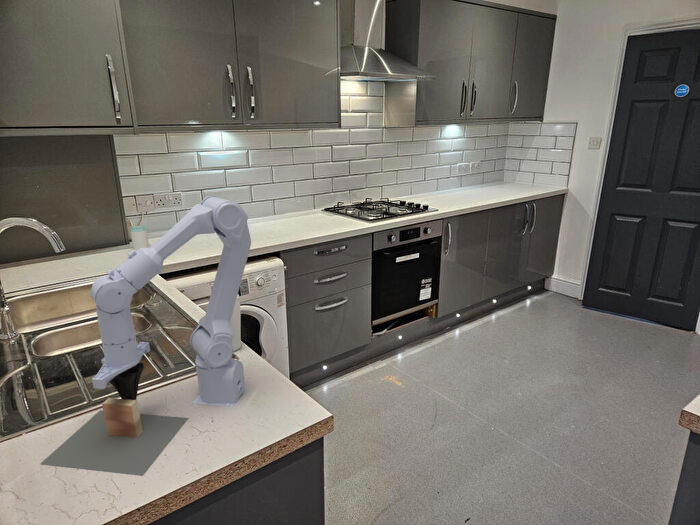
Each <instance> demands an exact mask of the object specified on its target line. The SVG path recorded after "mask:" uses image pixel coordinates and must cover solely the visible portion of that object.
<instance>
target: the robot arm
mask: <svg viewBox="0 0 700 525" xmlns="http://www.w3.org/2000/svg"><path fill="white" fill-rule="evenodd" d="M248 219H249V215H248V214H247V212H245V210H244V209H243V207H242V206H241V205H240V204H239V203H238V202H236V201H234V200H228V199H225V198H222V197H220V196H219V195H218V196H217V195H208V196H206V197H204V198H203V200H201V201H200V203H197V204H195V205H194V206H192V208H191V209H190V210H189V211H188V212H187V213H186V214H185V215H184V216H183V217H182V218H181V219H180V220H178V221H177V222H176V224H174V225H173V226H172V227H171V228H170V229H169V230H168V231H167V232H166V233H165V234H163V235H162V236H161V237H160V239H157V241H156V242H155V243H154V244H153V245H151V246H149V248H139V249H138V250H137V251H134V250H133V249H131V250H130V251H129V252H128V253H127V255H128V257H126V259H125V260H123V261H122V262H121V263H119V265H117V266H116V267H115V268H114V269H112V268H110V269H108V271H106V274H107V275H103V276H100V277H98V278H97V279H96V280H94V282H93V284H92V285H91V286H92V287H91V288H90V292H89V294H90V298H92V300H93V301H94V302H95V304H96V316H97V323H98V330H99V333H100V341H101V346H102V351H103V356H104V357H103V358H102V359H101V364H102V366H101V367H100V369H99V371H98V372H97V374H96V375H95V376H93V377H92V378H91V382H92V387H93V389H96V390H97V389H98V390H104V389H106V388H107V386H108V385H107V384H108V383H110V384H111V385H112V386H113V387H114V389H115V390H116V391H117V393H118V394H119V397H120V399H129V400H137V398H138V390H139V383H140V379H141V376H142V373H143V371H144V368H145V366H144V363H142V362H140V361H141V360H142V358H143V355H144V354H147V353H149V352H150V351H151V348H150V342H148V341H145V342H144V341H140V342H138V343H137V338H136V332H135V325H134V320H133V314H132V312H131V307H130V305H131V303H132V301H133V295H134V294H136V293H137V292H138V291H140V290H141V289H142V288H143V287H145V286H146V284H148V283H149V282H150V281H152V279H154V278H155V277H156V276H157V275H158V274H159V273H161V272H162V271H163V267H164V266H163V265H164V260H166V259H168V258H169V257H170V256H171V255H172V254H174V253H175V252H176V251H177V250H178V249H180V248H181V247H183V246H184V245H185V244H187V243H188V242H189V241H190V240H192V239H194V237H196V236H197V235H208V234H209V235H210V234H216V235H217V236H218V238H219V240H220V241H221V243H222V244H223V247H222V252H221V254H220V259H219V263H218V266H217V268H216V269H217V271H216V274H215V277H214V281H213V285H212V289H211V292H210V296H209V301H208V304H207V308H206V312H205V315H204V316H202V317H201V318H199V320H198V323H197V327H196V328H195V329H194V330H193V332H191V335H190V337H189V344H190V347H191V348H192V349H193V350H194V351H195V352H196V357H195V361H194V362H195V370H196V376H197V384H198V394H197V396H196V397H195V399H194V400H193V401H192V402H191V403H192V404H196V405H198V404H199V405H207V406H208V405H209V406H222V407H234V406H235V405H236V403H237V402H238V400H239V399H240V398H241V396H242V395H243V393H244V392H245V390H246V389H247V385H246V382H245V372H244V365H243V364H244V363H243V362H242V361H240V360H237V359H234V358H232V357H233V353H234V352H233V346H232V338H233V331H232V327H231V322H230V321H231V317H232V313H233V310H234V306H235V302H236V299H237V295H239V291H240V287H241V284H242V279H243V276H244V272H245V267H246V264H247V261H248V257H249V253H250V249H251V245H252V238H251V234H250V230H249V226H248Z"/></svg>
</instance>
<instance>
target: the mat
mask: <svg viewBox="0 0 700 525" xmlns="http://www.w3.org/2000/svg"><path fill="white" fill-rule="evenodd" d="M140 419H141V425H142V430H143V431H142V432H141V433H140V435H139V436H138V437H137V438H133V437H123V436H112V435H108V432H107V427H106V422H105V417H104V412H103V409H102V410H99V411H98V412H97V413H96V414H94V415H93V416H92V417H91V418H90V419H89V420H88V421H86V422H85V423H84V424H83V425H82V426H81V427H80V428H79V429H77V430H76V431H75V432H74V433H73V434H72V435H71V436H69V437H68V438H67V439H66V440H65V441H64V442H63V443H62V444H61V445H59V446H58V447H57V448H56V449H55V450H54V451H53V452H52V453H50V454H49V455H48V456H47V457H46V458H44V460H43V461H41V462H40V463H39V465H41V466H43V465H44V466H52V467H61V468H68V469H69V468H70V469H76V470H77V469H79V470H85V471H86V470H87V471H95V472H104V473H115V474H122V475H131V476H141V477H143V476H145V474H146V472H148V470H149V469H150V468H151V466H152V465H154V463H155V461H156V460H157V459H158V458H159V456H160V455H161V454H162V453H163V451H165V449H166V448H167V446H168V445H169V444H170V443H171V442H172V440H173V439H174V437H175V436H176V435H177V434H178V433H179V431H181V429H182V427H183V426H184V425H185V423H186V422H187V421H188V420H189V419H190V418H189V417H179V416H169V415H158V414H157V415H156V414H146V413H140Z"/></svg>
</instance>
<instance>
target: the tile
mask: <svg viewBox="0 0 700 525" xmlns="http://www.w3.org/2000/svg"><path fill="white" fill-rule="evenodd" d="M138 402H139V401H138V400H137V399H136V400H129V399H121V398H118V397H117V398H115V397H108V398H107V399H106V400H105V401H104V402H102V403H101V405H102V406H101V407H102V410H103V412H104V417H105V422H106V427H107V432H108V435H112V436H123V437H133V438H137V437H138V436H139V435H140V433H141V432H142V431H143V430H142V425H141V419H140V414H141V413H140V409H139V403H138Z"/></svg>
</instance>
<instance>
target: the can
mask: <svg viewBox="0 0 700 525" xmlns="http://www.w3.org/2000/svg"><path fill="white" fill-rule="evenodd" d="M130 236H131V244H132V250H136V251H137V250H138V249H139V248H150V245H149V237H148V229H147V228H146V227H145V225H134V226H131V227H130Z"/></svg>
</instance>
